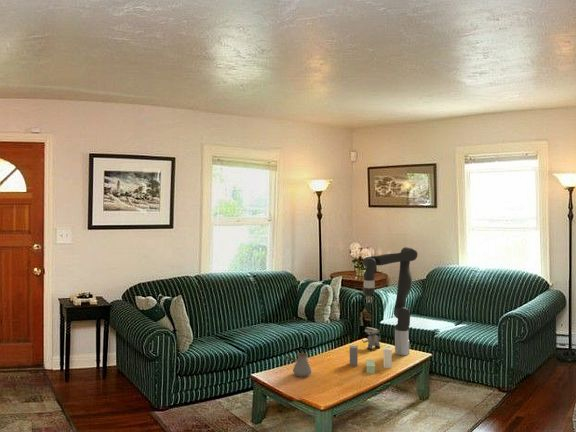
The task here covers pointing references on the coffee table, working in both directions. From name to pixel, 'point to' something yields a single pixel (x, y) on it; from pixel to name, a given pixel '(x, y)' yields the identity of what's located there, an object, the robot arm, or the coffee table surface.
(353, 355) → the slate grey pillar
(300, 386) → the coffee table surface
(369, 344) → the figurine
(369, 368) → the sage green pillar
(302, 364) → the coffee pot
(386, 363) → the off white pillar
